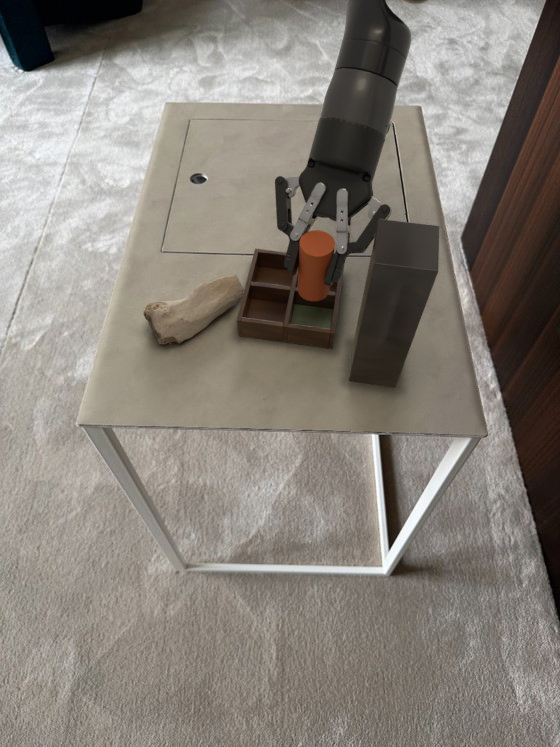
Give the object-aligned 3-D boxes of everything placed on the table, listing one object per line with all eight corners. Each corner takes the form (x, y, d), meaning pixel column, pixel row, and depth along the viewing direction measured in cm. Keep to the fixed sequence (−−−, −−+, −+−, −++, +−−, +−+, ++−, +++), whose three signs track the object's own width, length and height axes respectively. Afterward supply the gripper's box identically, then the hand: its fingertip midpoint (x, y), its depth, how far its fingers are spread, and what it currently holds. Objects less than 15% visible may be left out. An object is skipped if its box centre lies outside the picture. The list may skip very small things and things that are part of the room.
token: (331, 278, 69) (337, 232, 62) (327, 303, 67) (333, 258, 60) (299, 274, 69) (302, 228, 62) (295, 299, 67) (297, 253, 60)
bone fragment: (163, 355, 72) (156, 334, 68) (145, 321, 75) (137, 299, 71) (253, 315, 75) (252, 293, 71) (233, 284, 78) (230, 262, 74)
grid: (342, 276, 79) (345, 259, 76) (332, 349, 72) (334, 333, 69) (256, 265, 80) (255, 248, 77) (238, 336, 74) (236, 320, 70)
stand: (397, 349, 72) (439, 225, 54) (395, 387, 69) (438, 271, 51) (353, 343, 73) (378, 218, 54) (348, 381, 70) (374, 263, 51)
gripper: (283, 101, 57) (243, 263, 61) (416, 133, 54) (364, 299, 59) (299, 118, 64) (262, 262, 68) (417, 147, 61) (371, 295, 66)
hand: (309, 278), depth 63 cm, fingers closed on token, 4 cm apart
